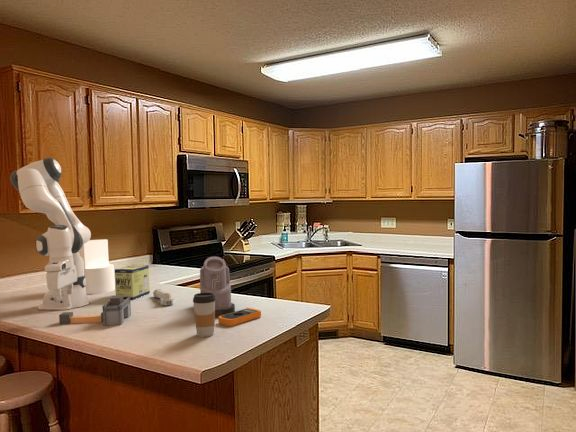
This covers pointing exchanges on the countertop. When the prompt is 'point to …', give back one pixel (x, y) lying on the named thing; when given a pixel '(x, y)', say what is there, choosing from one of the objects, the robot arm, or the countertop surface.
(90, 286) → the cylinder
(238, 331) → the countertop surface
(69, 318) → the wooden and grey bar
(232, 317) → the multimeter
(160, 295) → the toothbrush head
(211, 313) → the coffee cup
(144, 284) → the protein box
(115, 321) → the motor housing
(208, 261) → the juicer
